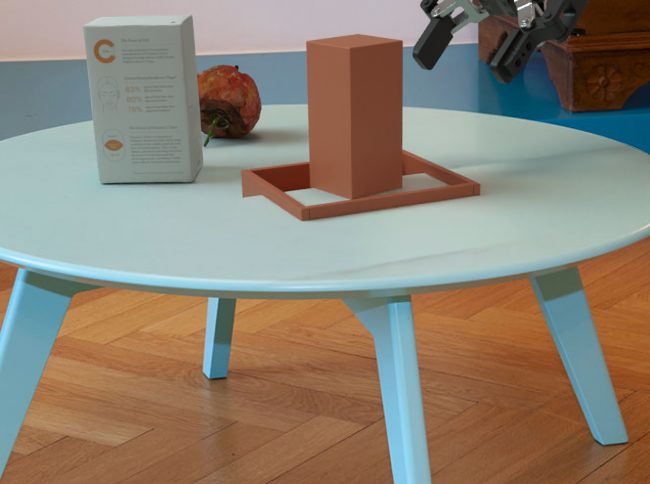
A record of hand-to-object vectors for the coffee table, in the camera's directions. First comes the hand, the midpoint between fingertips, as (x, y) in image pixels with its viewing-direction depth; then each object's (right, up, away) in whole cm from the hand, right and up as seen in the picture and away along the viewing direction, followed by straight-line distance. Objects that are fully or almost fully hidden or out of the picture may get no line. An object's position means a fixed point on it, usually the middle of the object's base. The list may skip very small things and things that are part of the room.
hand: (458, 70), depth 89 cm
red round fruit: (-20, -2, +21) cm, 29 cm away
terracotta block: (-8, -11, -3) cm, 14 cm away
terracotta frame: (-8, -11, -2) cm, 14 cm away
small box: (-25, -7, +9) cm, 28 cm away
